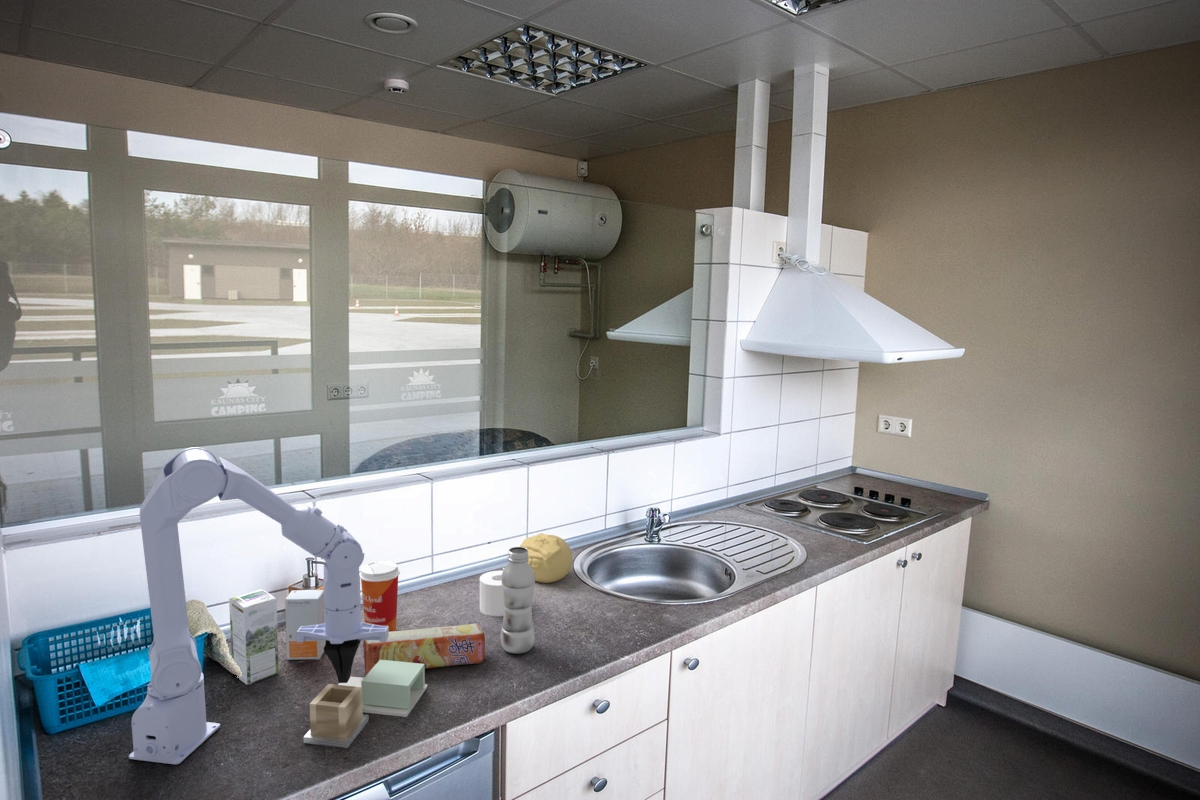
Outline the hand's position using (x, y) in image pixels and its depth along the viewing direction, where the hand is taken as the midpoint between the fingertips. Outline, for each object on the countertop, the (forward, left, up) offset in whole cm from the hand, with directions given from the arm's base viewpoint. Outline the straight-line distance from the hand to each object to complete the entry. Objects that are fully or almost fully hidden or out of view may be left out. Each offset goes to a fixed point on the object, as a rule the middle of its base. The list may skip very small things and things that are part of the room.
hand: (344, 679), depth 121 cm
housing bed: (0, -5, -2) cm, 6 cm away
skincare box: (+11, +13, -3) cm, 17 cm away
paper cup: (+21, +3, -3) cm, 21 cm away
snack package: (+11, -10, -2) cm, 15 cm away
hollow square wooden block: (-10, -4, -2) cm, 11 cm away
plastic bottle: (+20, -25, -3) cm, 32 cm away
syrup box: (+3, +18, -3) cm, 19 cm away
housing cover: (0, -9, -2) cm, 9 cm away
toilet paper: (+39, -17, -3) cm, 43 cm away
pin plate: (-10, -4, -3) cm, 11 cm away
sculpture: (+56, -23, -3) cm, 60 cm away
